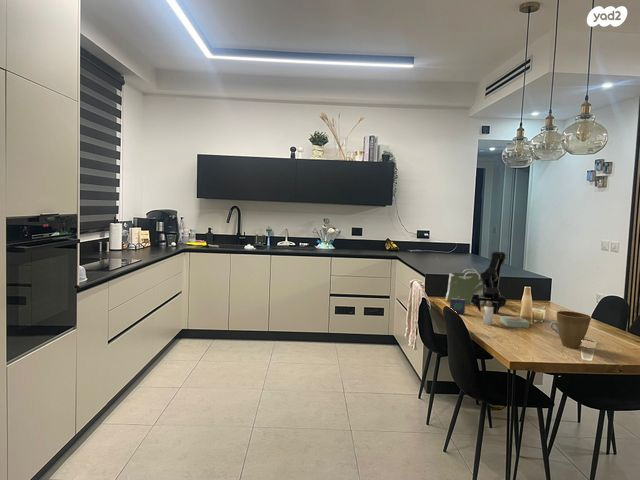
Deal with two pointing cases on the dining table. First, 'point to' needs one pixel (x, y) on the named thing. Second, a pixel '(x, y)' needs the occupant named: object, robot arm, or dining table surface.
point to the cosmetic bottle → (488, 313)
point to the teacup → (556, 328)
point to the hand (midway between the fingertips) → (488, 312)
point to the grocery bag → (465, 286)
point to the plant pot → (572, 327)
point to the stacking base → (514, 321)
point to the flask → (458, 305)
